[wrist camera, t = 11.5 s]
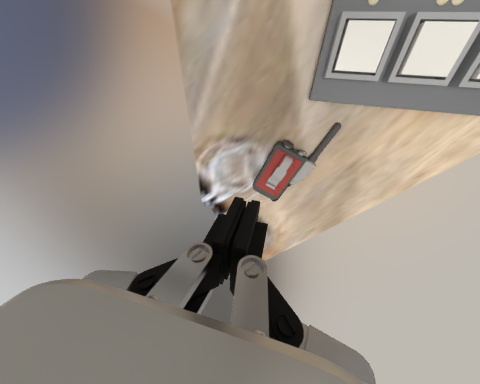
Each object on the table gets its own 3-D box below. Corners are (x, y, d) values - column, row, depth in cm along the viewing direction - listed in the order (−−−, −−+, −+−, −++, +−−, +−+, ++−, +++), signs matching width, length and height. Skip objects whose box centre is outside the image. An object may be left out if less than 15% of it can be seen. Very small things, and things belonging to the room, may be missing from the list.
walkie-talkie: (282, 202, 43) (343, 125, 32) (281, 213, 39) (350, 130, 28) (250, 185, 43) (300, 101, 31) (246, 194, 39) (301, 103, 28)
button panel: (335, -12, 24) (342, -27, 20) (584, -16, 19) (644, -36, 16) (309, 99, 30) (311, 101, 27) (486, 115, 26) (513, 119, 23)
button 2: (415, 25, 22) (425, 21, 20) (464, 26, 21) (478, 22, 19) (393, 74, 24) (401, 74, 23) (436, 77, 24) (446, 76, 22)
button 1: (345, 24, 23) (349, 20, 22) (388, 25, 22) (395, 20, 21) (332, 70, 26) (334, 70, 24) (369, 73, 25) (375, 72, 23)
